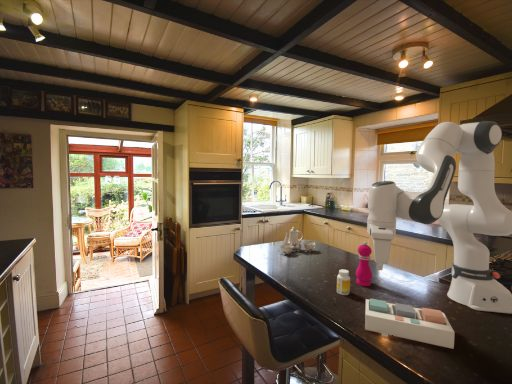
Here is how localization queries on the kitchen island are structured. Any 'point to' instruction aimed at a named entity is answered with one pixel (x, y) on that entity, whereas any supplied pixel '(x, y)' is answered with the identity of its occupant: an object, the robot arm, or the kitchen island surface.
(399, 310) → the slate key
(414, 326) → the three-slot colour tray
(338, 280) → the supplement bottle
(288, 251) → the chinaware
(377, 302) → the teal key
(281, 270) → the kitchen island surface
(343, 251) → the kitchen island surface
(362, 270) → the pepper mill
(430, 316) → the terracotta key
